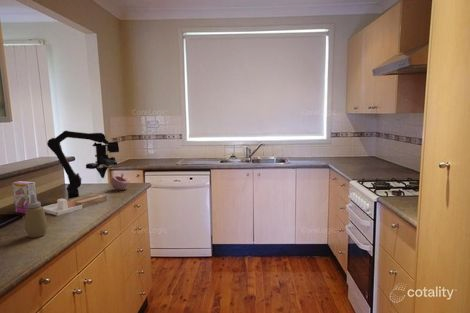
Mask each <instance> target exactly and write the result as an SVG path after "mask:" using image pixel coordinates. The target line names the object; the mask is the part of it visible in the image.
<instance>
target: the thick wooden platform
mask: <svg viewBox="0 0 470 313" xmlns="http://www.w3.org/2000/svg"><path fill="white" fill-rule="evenodd" d="M66 199H67V201H75V202H76V206H79V205H82V209H84V208H87V207H90V206H96V205H98V204H101V203H105V202H107V195H103V194H96V193H87V194H84V195H79V197H75V198H71V199H68V198H66Z"/></svg>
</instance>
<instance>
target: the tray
mask: <svg viewBox="0 0 470 313" xmlns="http://www.w3.org/2000/svg"><path fill="white" fill-rule="evenodd" d="M42 207H43V208H44V212H45V214H48V215H52V216H53V215H54V216H57V217H58V216H62V215H65V214H69V213H72V212H75V211H79V210H82V209H83V208H82V205H79V206H75V207H71V208H68V209H65V210H62V209H58V204H57V203H53V204H49V205H48V204H47V205H44V206H42Z"/></svg>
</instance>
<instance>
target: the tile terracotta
mask: <svg viewBox="0 0 470 313" xmlns="http://www.w3.org/2000/svg"><path fill="white" fill-rule="evenodd" d="M67 204H68V208H71V207H75V206H76V202H75V201H67Z"/></svg>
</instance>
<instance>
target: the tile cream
mask: <svg viewBox="0 0 470 313" xmlns="http://www.w3.org/2000/svg"><path fill="white" fill-rule="evenodd" d="M66 199H67V198H58V199H57V201H56V202H57V204H58V209H62V210H65V209H68V204H67V200H66Z"/></svg>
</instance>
